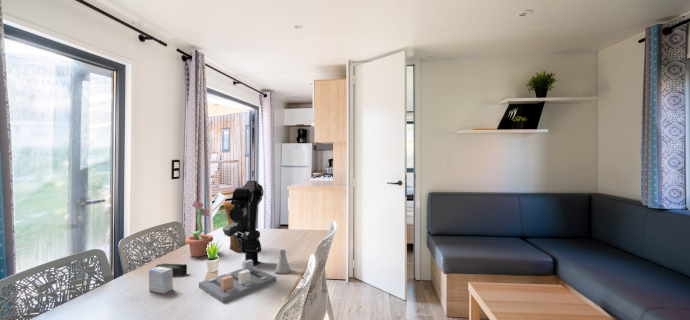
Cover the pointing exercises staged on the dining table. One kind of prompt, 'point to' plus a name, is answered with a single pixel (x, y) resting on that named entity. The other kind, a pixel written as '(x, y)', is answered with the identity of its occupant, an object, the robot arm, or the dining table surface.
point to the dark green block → (175, 268)
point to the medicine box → (160, 280)
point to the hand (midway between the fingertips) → (242, 250)
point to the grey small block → (247, 265)
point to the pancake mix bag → (233, 241)
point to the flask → (282, 263)
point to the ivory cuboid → (244, 277)
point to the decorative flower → (199, 241)
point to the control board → (236, 285)
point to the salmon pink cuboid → (226, 283)
